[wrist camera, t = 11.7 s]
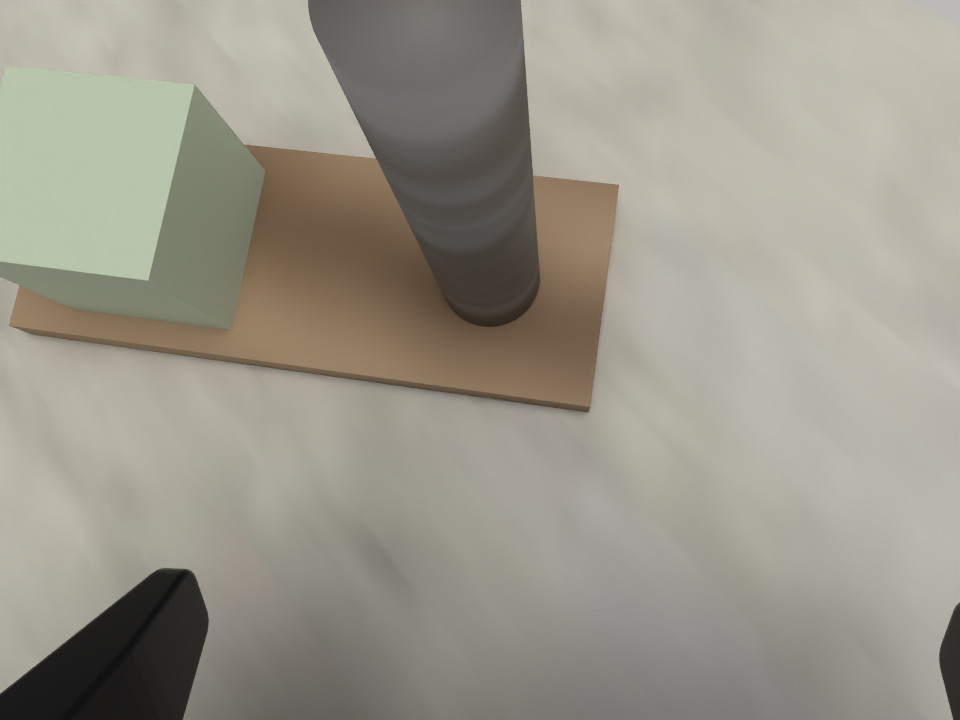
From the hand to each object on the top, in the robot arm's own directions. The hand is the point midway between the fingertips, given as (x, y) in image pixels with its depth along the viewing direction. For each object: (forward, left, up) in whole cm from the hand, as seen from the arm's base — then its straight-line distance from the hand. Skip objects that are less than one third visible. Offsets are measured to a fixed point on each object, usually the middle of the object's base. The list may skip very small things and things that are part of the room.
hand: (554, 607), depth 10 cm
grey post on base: (+7, +8, -12) cm, 16 cm away
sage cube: (+7, +12, -11) cm, 17 cm away
